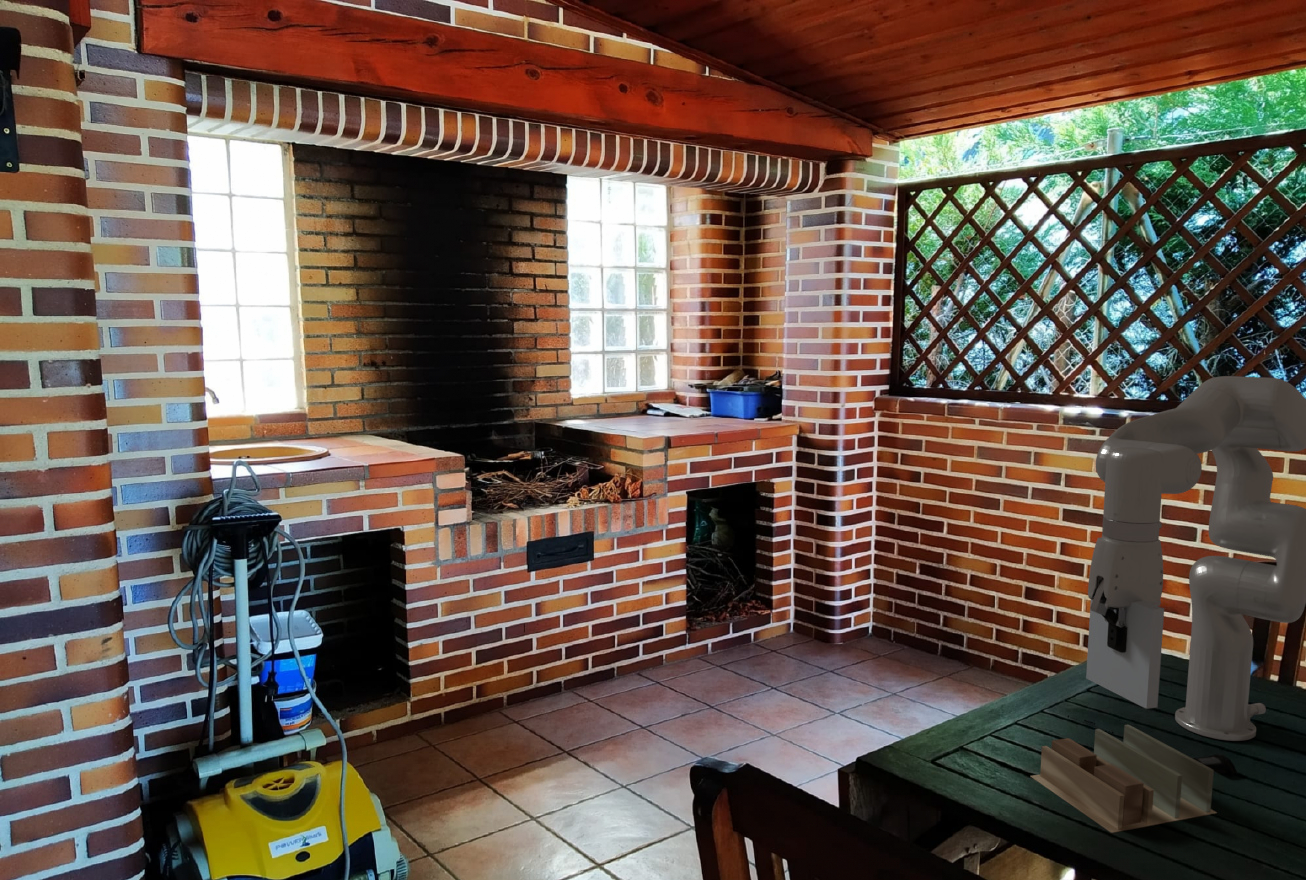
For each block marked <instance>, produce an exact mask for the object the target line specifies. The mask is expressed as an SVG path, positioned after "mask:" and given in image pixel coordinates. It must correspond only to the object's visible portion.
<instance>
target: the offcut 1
mask: <svg viewBox="0 0 1306 880" xmlns="http://www.w3.org/2000/svg"><path fill="white" fill-rule="evenodd" d="M1051 749H1052V750H1054V751H1055V752H1057V753H1058V754H1060V755H1062V756H1063V757H1065V758H1066V759H1068V760H1070V761H1071V762H1073V763H1074V764H1076V765H1077V766H1079V767H1081V768H1082V769H1084V770H1085V771H1087V772H1089V773H1090V774H1092V775H1093V776H1094V767H1096V760H1097V755H1096V754H1094V751H1093V752H1092V751H1090V750H1089V749H1088V748H1086V747H1084V746H1083V745H1081V744H1079V743H1078V742H1076V741H1074V740H1073V739H1071V738H1069V737H1068V738H1067V737H1066V738H1061V739H1060V738H1059V739H1055V740H1051Z"/></svg>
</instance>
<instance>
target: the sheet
mask: <svg viewBox="0 0 1306 880" xmlns="http://www.w3.org/2000/svg"><path fill="white" fill-rule="evenodd" d="M1092 601H1093V600H1091V599H1090V605H1089V606H1090V607H1091V604H1092ZM1114 612H1115V613H1116V610H1115V609H1114ZM1164 617H1165V608H1163V607H1162V606H1156V605H1153V604H1150V603H1148V602H1145V601H1137V602H1132V604H1131V606H1129V607H1126V608H1125V625H1124V626H1125V627H1127V642H1126V652H1124V653H1121V652H1119V651H1116V650H1114V649H1112V648H1110V647H1108V646H1107V637H1108V622H1106V621H1105V618H1104V617H1103V616H1102V615H1101V614H1098V613H1096V612H1093V611H1091V610H1090V609H1089V625H1088V626H1089V627H1088V638H1087V639H1088V643H1087V655H1086V656H1087V658H1086V671H1085V672H1086V676H1085V679H1086V680H1089V681H1091V682H1093V683H1095V684H1097V685H1099V686H1101V687H1102V688H1104V689H1106V690H1109V691H1110V692H1112V693H1114V694H1117V695H1119V696H1120V697H1122V698H1124V699H1126V700H1128V701H1129V702H1132V703H1134V704H1135V705H1138V706H1140V707H1142V708H1143V709H1146V710H1149V709H1154V708H1155V709H1157V708H1158V705H1159V704H1158V703H1159V689H1160V675H1161V660H1162V648H1163V647H1162V646H1163V631H1164V620H1165V619H1164Z"/></svg>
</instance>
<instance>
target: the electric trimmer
mask: <svg viewBox="0 0 1306 880" xmlns="http://www.w3.org/2000/svg"><path fill="white" fill-rule="evenodd" d="M1191 758H1192V757H1191ZM1192 759H1194V760H1196V761H1198V762H1200V763H1202V764H1203V765H1205V766H1207V767H1209V768H1211V769H1213V770H1214V772H1215V773H1216V774H1218V775H1221V774H1222V775H1223V774H1227V775H1230V776H1235V775H1236V774H1238V772H1237V771H1238V770H1237V769H1236V766H1235V765H1234V763H1233V762H1232V761H1231V760H1230V758H1229V757H1227V756H1226V755H1223V754H1218V753H1215V754H1212V755H1209V756H1202V757H1193V758H1192Z"/></svg>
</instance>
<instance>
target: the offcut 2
mask: <svg viewBox="0 0 1306 880" xmlns="http://www.w3.org/2000/svg"><path fill="white" fill-rule="evenodd" d="M1094 776H1095V777H1096V778H1098V779H1100V780H1101V781H1103V782H1104V783H1106V784H1107V785H1109V786H1111V787H1112V788H1114V789H1115V790H1117V791H1119V792H1120V793H1122V794H1123V795H1124V809H1123V823H1122V826H1124V825H1130V824H1135V823H1140V822H1141V814H1142V800H1143V786H1144V783H1143V782H1141V781H1139V780H1138V779H1136V778H1134V777H1133V776H1131V775H1129V774H1128V773H1126V772H1124V771H1123V770H1121V769H1119V768H1118V767H1116V766H1114V765H1113V764H1109V765H1102V766H1096V767H1094Z"/></svg>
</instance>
